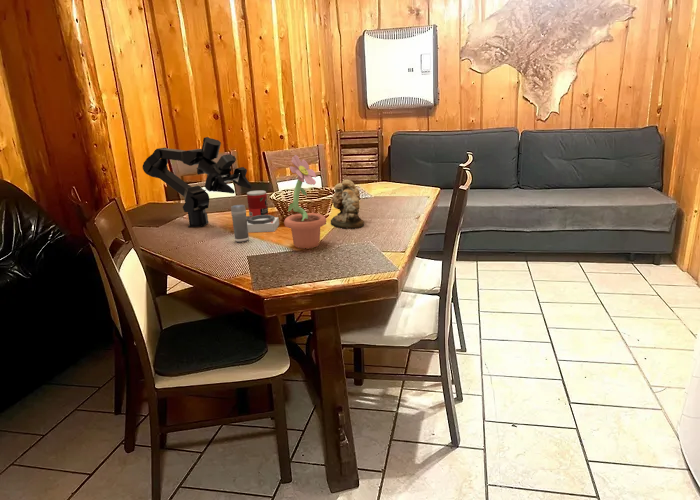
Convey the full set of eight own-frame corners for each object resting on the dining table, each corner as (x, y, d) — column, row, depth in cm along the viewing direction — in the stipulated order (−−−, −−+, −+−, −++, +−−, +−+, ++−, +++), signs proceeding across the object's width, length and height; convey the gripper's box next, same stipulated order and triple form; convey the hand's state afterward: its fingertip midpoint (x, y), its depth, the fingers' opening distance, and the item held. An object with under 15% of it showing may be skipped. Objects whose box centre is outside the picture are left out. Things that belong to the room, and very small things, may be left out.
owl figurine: (323, 221, 198) (320, 178, 193) (349, 217, 202) (347, 175, 197) (342, 231, 182) (340, 184, 177) (371, 226, 187) (369, 181, 182)
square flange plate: (240, 232, 187) (238, 221, 185) (246, 225, 196) (245, 215, 195) (274, 231, 186) (273, 220, 185) (279, 224, 195) (278, 214, 194)
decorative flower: (316, 254, 157) (309, 158, 148) (277, 251, 162) (268, 158, 153) (334, 240, 170) (328, 152, 161) (297, 238, 175) (290, 152, 166)
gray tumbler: (233, 243, 174) (228, 208, 170) (236, 239, 179) (232, 204, 175) (247, 242, 174) (243, 207, 170) (250, 238, 178) (246, 204, 174)
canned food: (265, 220, 203) (262, 193, 200) (246, 220, 205) (243, 194, 201) (271, 216, 210) (269, 190, 207) (253, 216, 212) (250, 190, 209)
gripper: (198, 153, 177) (230, 174, 172) (235, 147, 192) (265, 166, 187) (192, 180, 182) (222, 202, 177) (228, 172, 197) (257, 192, 193)
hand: (242, 189), depth 183 cm, fingers open, 9 cm apart
